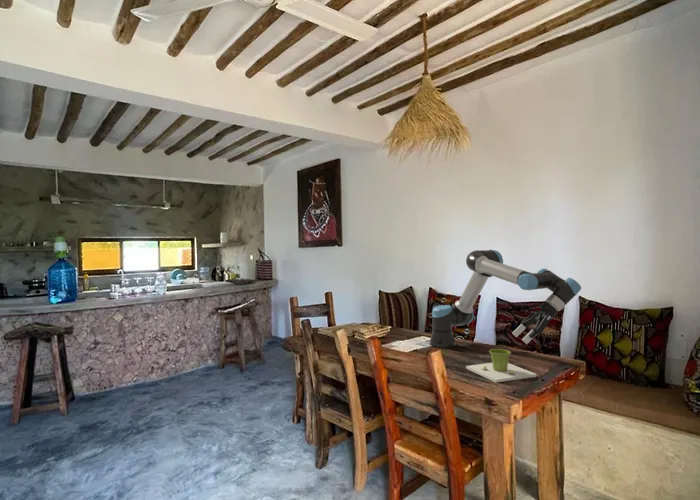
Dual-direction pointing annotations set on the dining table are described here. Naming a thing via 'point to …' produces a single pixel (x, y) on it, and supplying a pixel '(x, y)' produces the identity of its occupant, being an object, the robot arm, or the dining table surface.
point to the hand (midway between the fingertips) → (518, 338)
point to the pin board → (501, 372)
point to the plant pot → (500, 359)
